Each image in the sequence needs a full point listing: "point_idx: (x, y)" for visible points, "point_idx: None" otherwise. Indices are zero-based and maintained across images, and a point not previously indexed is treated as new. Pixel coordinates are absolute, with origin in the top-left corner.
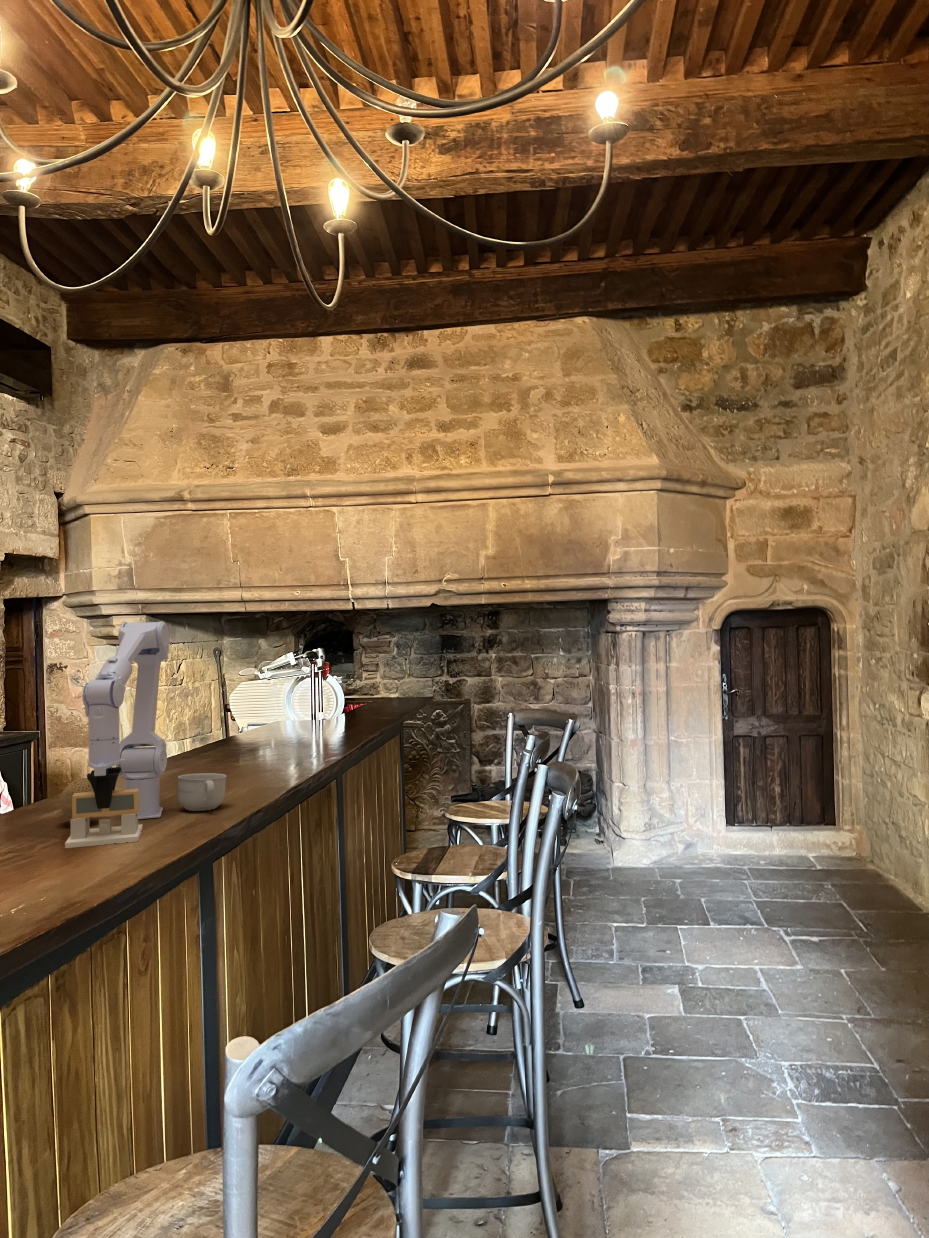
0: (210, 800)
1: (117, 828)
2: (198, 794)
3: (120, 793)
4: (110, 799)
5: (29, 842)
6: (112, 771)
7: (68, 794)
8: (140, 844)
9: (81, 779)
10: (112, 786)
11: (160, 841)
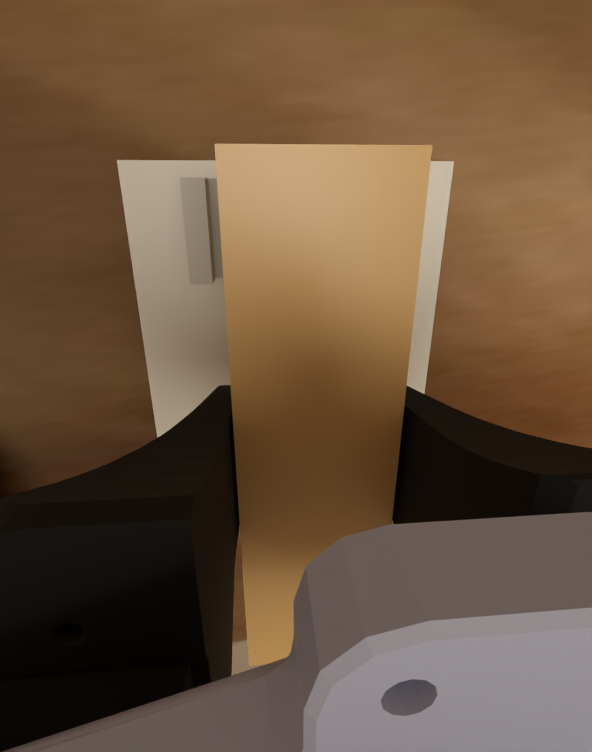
0: None
1: (194, 302)
2: None
3: (411, 334)
4: (423, 396)
5: (244, 596)
6: (211, 597)
7: None
8: (513, 142)
9: None
10: (533, 437)
11: (506, 15)
